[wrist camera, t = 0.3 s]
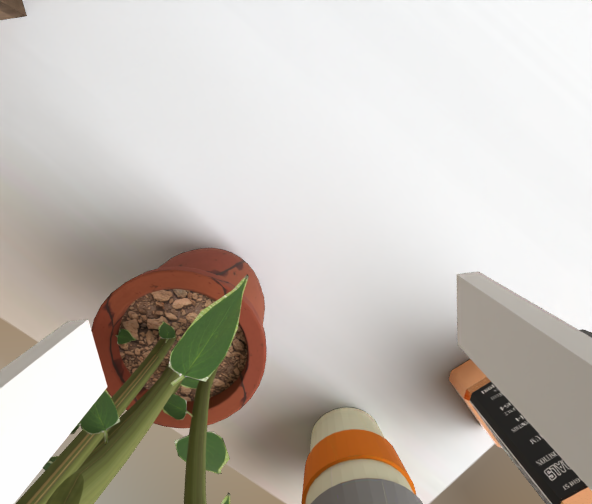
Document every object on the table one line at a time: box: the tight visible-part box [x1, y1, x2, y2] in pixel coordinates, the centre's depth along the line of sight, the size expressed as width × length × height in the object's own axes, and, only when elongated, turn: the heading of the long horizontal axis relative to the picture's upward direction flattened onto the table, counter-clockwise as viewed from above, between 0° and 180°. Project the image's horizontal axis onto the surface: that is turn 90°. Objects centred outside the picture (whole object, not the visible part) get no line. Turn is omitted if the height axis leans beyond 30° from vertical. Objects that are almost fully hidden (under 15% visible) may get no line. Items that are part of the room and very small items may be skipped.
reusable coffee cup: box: [302, 407, 423, 504], centre depth 39 cm, size 13×13×15 cm
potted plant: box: [16, 248, 266, 504], centre depth 25 cm, size 17×16×35 cm
